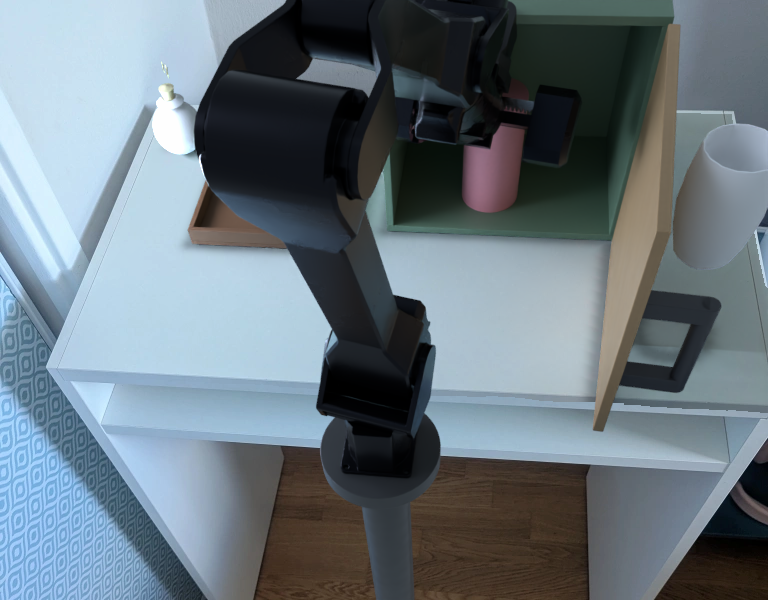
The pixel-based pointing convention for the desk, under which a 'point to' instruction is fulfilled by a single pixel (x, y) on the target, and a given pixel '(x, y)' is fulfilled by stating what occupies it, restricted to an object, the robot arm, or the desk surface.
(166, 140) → the ornament
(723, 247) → the cup
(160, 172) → the desk surface
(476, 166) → the cylindrical container
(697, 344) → the cupboard door
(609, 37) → the cupboard
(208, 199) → the tray
